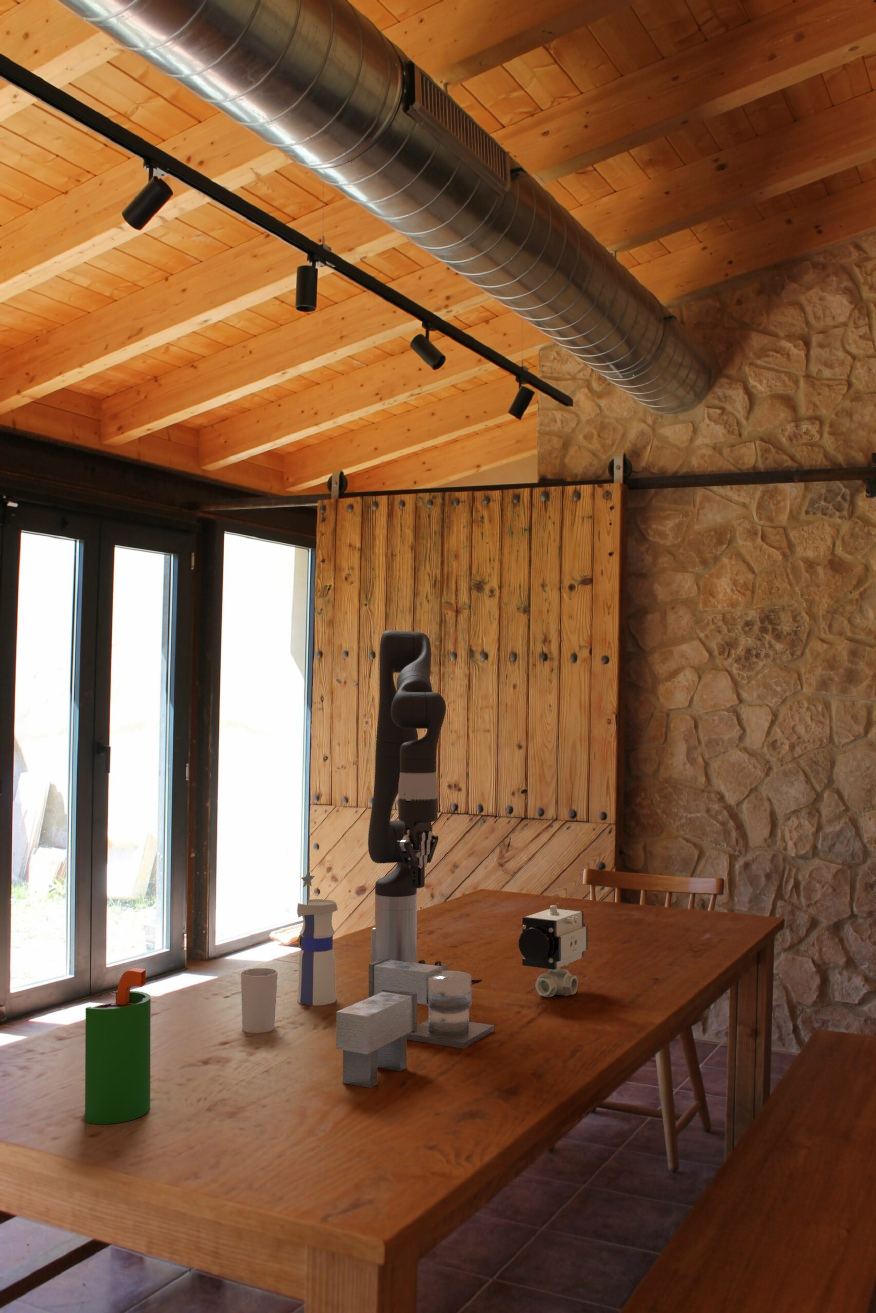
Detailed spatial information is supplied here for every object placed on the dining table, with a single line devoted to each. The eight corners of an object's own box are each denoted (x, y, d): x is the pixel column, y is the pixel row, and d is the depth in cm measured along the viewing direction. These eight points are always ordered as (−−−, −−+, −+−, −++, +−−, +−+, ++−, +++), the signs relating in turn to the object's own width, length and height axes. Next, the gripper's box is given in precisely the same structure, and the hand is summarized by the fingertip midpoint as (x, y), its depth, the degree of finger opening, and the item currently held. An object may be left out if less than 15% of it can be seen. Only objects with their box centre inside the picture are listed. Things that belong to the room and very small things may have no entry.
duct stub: (402, 1038, 191) (402, 1009, 191) (434, 1021, 202) (435, 994, 202) (463, 1048, 186) (463, 1018, 186) (493, 1030, 196) (493, 1002, 196)
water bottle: (285, 1002, 215) (287, 874, 216) (310, 993, 222) (311, 869, 224) (320, 1008, 211) (321, 877, 212) (344, 998, 219) (345, 872, 220)
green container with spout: (93, 1099, 160) (96, 961, 161) (155, 1097, 161) (158, 960, 162) (76, 1125, 150) (80, 977, 151) (143, 1123, 151) (145, 976, 152)
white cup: (262, 1020, 202) (263, 966, 202) (284, 1028, 197) (285, 972, 198) (232, 1027, 197) (233, 971, 198) (253, 1035, 193) (254, 978, 193)
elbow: (478, 1002, 196) (479, 967, 196) (458, 1013, 189) (458, 976, 189) (388, 989, 204) (388, 956, 205) (366, 999, 197) (366, 964, 198)
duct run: (368, 1091, 164) (369, 1014, 165) (334, 1085, 167) (334, 1009, 168) (416, 1064, 177) (417, 992, 178) (383, 1058, 180) (384, 988, 181)
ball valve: (555, 1006, 213) (555, 914, 214) (517, 1000, 217) (517, 910, 218) (594, 987, 228) (593, 901, 229) (557, 982, 232) (557, 897, 233)
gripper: (417, 793, 217) (417, 881, 216) (383, 797, 205) (382, 890, 204) (451, 794, 213) (451, 884, 212) (418, 799, 202) (418, 893, 201)
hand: (417, 887), depth 208 cm, fingers closed
